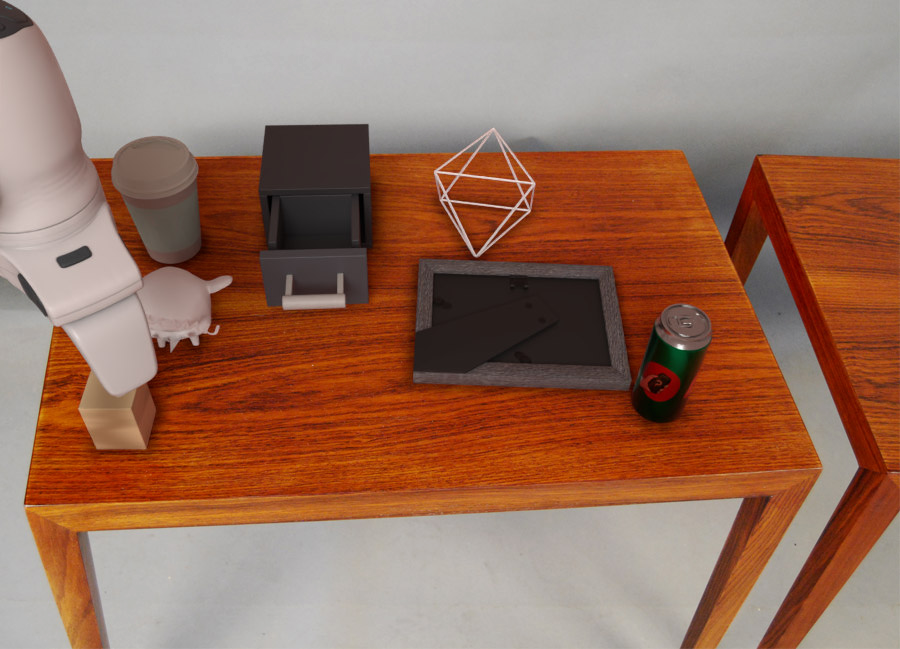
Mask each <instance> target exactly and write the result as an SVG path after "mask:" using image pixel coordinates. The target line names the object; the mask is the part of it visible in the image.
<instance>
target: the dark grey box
mask: <svg viewBox="0 0 900 649" xmlns="http://www.w3.org/2000/svg"><path fill="white" fill-rule="evenodd" d="M262 143H263V144H262V152H261V162H260V171H259V181H258V196H259V203H260V210H261V216H262V221H263V228H264V234H265V242H266V248H267V250H269V244H268V241H269V230H270V218H271V207H272V196H273V195H316V194H359V210H360V231H361V248H367V250H368V249H373V248H374V243H373V242H374V241H373V240H374V239H373V212H372V182H371V178H372V177H371V156H370V152H371V150H370V125H369V123H340V124H339V123H336V124H335V123H333V124H332V123H331V124H268V125H267V124H266V125H264V135H263V142H262Z"/></svg>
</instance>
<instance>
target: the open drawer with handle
mask: <svg viewBox="0 0 900 649" xmlns="http://www.w3.org/2000/svg"><path fill="white" fill-rule="evenodd" d="M268 244H269V250H268V249H266V250H259V259H258V260H259V265H260V271H261V272H260V273H261V277H262V283H263V288H264V295H265V301H266V307H268V308H270V307H271V308H272V307H282V311H292V310H293V311H294V310H295V311H296V310H297V311H298V310H326V309H327V310H328V309H329V310H331V309H346V308H347V305H360V304H361V305H363V304H365V305H367V304H369V303H370V296H369V272H368V271H369V270H368V269H369V268H368V249H367V248H361V231H360V210H359V194H316V195H273V196H272V207H271V218H270V230H269V241H268Z"/></svg>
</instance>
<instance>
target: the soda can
mask: <svg viewBox="0 0 900 649" xmlns="http://www.w3.org/2000/svg"><path fill="white" fill-rule="evenodd" d="M713 335H714V334H713V329H712V321H711V319H710V316H708V314H706V312H705V311H704V310H703V309H700V308H699V307H697V306H696V305H695V306H694V305H692V304H689V303H674V304H671V305H669V306H667V307H665V308H664V310H662V311H661V312H660V313H659V314H658V315H657V316H656V318H655V319H654V322H653V325H652V328H651V331H650V335H649V338H648V341H647V343H646V348H645V351H644V353H643V357H642V360H641V363H640V366H639V369H638V372H637V375H636V379H635V383H634V385H633V388H632V391H631V395H630V402H631V405H632V407H633V409H634V410H635V412H636V413H637V414H638V415H639V416H640V417H641V418H643V419H644V420H646V421H648V422H651V423H653V424H669V423H673V422H675V421H677V420H678V419H679V418H681V416H682V415H683V412H684V410H685V407H686V406H687V403H688V400H689V399H690V395H691V393H692V390H693V388H694V385H695V383H696V381H697V378H698V376H699V373H700V371H701V368H702V365H703V363H704V360H705V358H706V355H707V353H708V350H709V348H710V346H711V343H712V340H713V337H714V336H713Z"/></svg>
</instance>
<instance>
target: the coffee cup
mask: <svg viewBox="0 0 900 649" xmlns="http://www.w3.org/2000/svg"><path fill="white" fill-rule="evenodd" d="M110 174H111V182H112V185H113V187H114V188H115V189H116V190H117V192H119V193H120V195H121V198H122V200H123V202H124V204H125V207H126V208H127V210H128V213H129V215H130V218H131V219H132V221H133V223H134V225H135V228H136V230H137V232H138V234H139V236H140V240H142V243H143V245H144V247H145V249H146V251H147V254H148V255H149V257H150V258H151V259H152V260H154V261H156V262H158V263H161V264H167V265H168V264H169V265H170V264H171V265H173V264H180V263H183V262H186V261H188V260H190V259H192V258H193V257H194V256H196V255H197V254H198V253H199V252H200V250H201V248H202V244H203V243H202V229H201V218H200V217H201V216H200V203H199V192H198V180H197V177H198V175H199V165H198V162H197V160H196V157H195V156H194V155H193V153H192V152H191V151H190V150H189V148H188V146H187V145H186V144H185V143H184V142H182V141H181V140H179V139H177V138H174V137H171V136H165V135H151V136H145V137H140V138H137V139H134V140H131V141H129V142H127V143H126V144H124V145H123V146H122V147H120V148H119V149H118V150H117V151H116V153H115V154H114V156H113V159H112V167H111V171H110Z"/></svg>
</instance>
